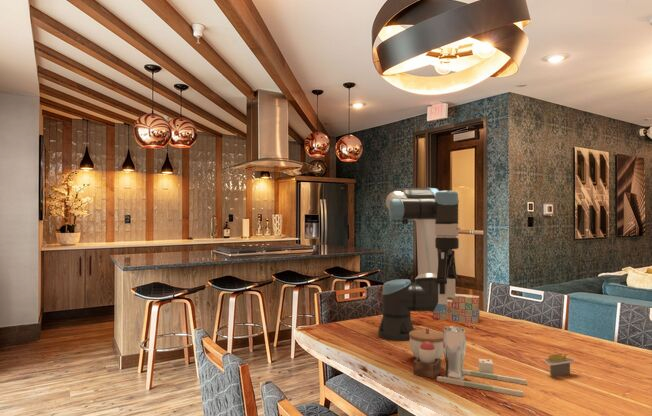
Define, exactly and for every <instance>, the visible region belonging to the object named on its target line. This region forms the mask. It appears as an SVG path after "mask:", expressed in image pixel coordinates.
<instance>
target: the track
mask: <svg viewBox="0 0 652 416" xmlns="http://www.w3.org/2000/svg"><path fill="white" fill-rule="evenodd" d="M445 368H446V365H445V366H444V369H445ZM463 371H464V375H467V376H473V377H479V378H485V379H490V380H496V381H503V382H508V383H514V384H520V385H524V386H525V385H527V379H526V378H519V377H512V376H507V375H501V374H495V373H493V374H490V373H484V372H479V370H478V371H476V370H472V369H471V370H470V369H464V368H463ZM436 381H437V382H440V383H447V384H452V385H456V386H461V387H467V388H474V389H478V390H479V389H480V390H484V391H489V392H494V393H495V392H496V393H500V394H506V395H512V396H517V397H524V390H518V389H513V388H508V387H502V386H496V385H490V384H484V383H481V382H476V381H467V380H458V379H452V378H447V377H444V376H441V375H440V376H439V375H438V376H437V377H436Z"/></svg>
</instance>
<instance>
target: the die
mask: <svg viewBox="0 0 652 416" xmlns="http://www.w3.org/2000/svg"><path fill="white" fill-rule="evenodd" d="M478 372H484V373H490V374H494V363H493V360H492V359H485V358H478Z"/></svg>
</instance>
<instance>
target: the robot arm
mask: <svg viewBox="0 0 652 416" xmlns="http://www.w3.org/2000/svg"><path fill="white" fill-rule="evenodd" d="M459 202H460V201H459V193H458V191H456V190H439V189H438V188H436V187H435V188H434V187H402V188H397V189H394V190H392V191H391V192H389V193H388V195H386V197H385V206H386V208H387V210H388V216H389V219H392V220H398V221H399V220H414V221H415V226H416V251H417V253H416V255H417V276H416V277H415V278H414V282H412V281H411V280H410V279H408V278H401V279H400V278H399V279H391V280H389V281H386V282H384V283H383V285H382V293H381V295H382V319H381V320H380V325H379V327H378V331H377V332H378V337H380V338H382V339H383V340H390V341H398V342H399V341H410V337H409V333H410V332H411V331H413V330H415V328H414V324H413V321H412V317H411V312H432V313H433V312H435V311H443V310H444V309H445V307H446V305H447V299H449V298H451V299H452V298H455V294H456V280H457V279H458V278H459V277H458V275H457V269H456V268H457V267H456V256H455V250H458V249H459V248H460V247H459V245H460V243H459V238H458V236H459V231H460V230H461V227H460V226H459ZM438 250H441V252H438Z"/></svg>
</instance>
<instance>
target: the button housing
mask: <svg viewBox="0 0 652 416" xmlns="http://www.w3.org/2000/svg"><path fill="white" fill-rule="evenodd" d="M412 363H413V364H412V365H413V371H412V372H413V375H416V376H422V377H426V378H433V379H437V376H439V374H441V372H442V359H441V358H440V359H439V358H435V363H434V364H430V363H424V362H419V357H418V358H415V359H414V361H413V362H412Z"/></svg>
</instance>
